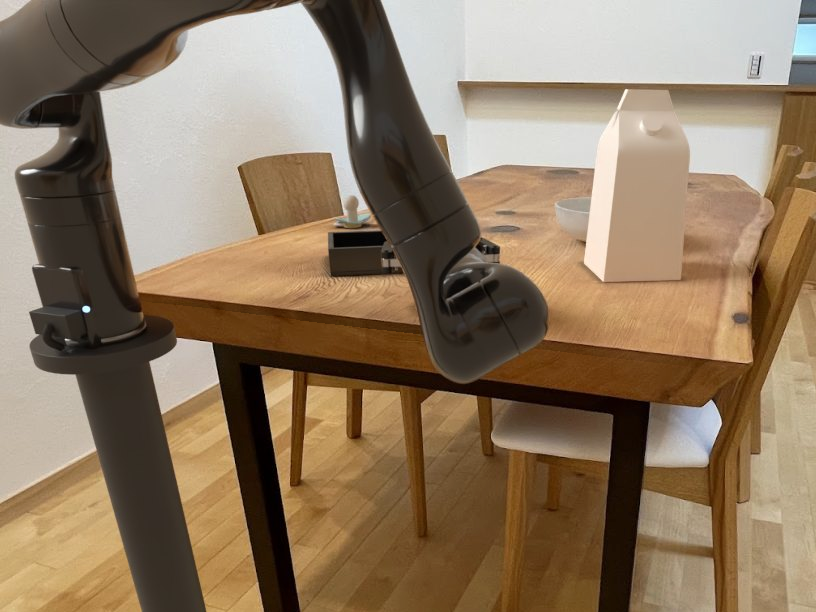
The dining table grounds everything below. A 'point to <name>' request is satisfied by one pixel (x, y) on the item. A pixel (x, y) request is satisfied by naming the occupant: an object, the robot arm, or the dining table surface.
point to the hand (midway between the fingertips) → (430, 241)
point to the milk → (639, 192)
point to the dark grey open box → (356, 253)
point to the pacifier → (352, 214)
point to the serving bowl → (574, 216)
